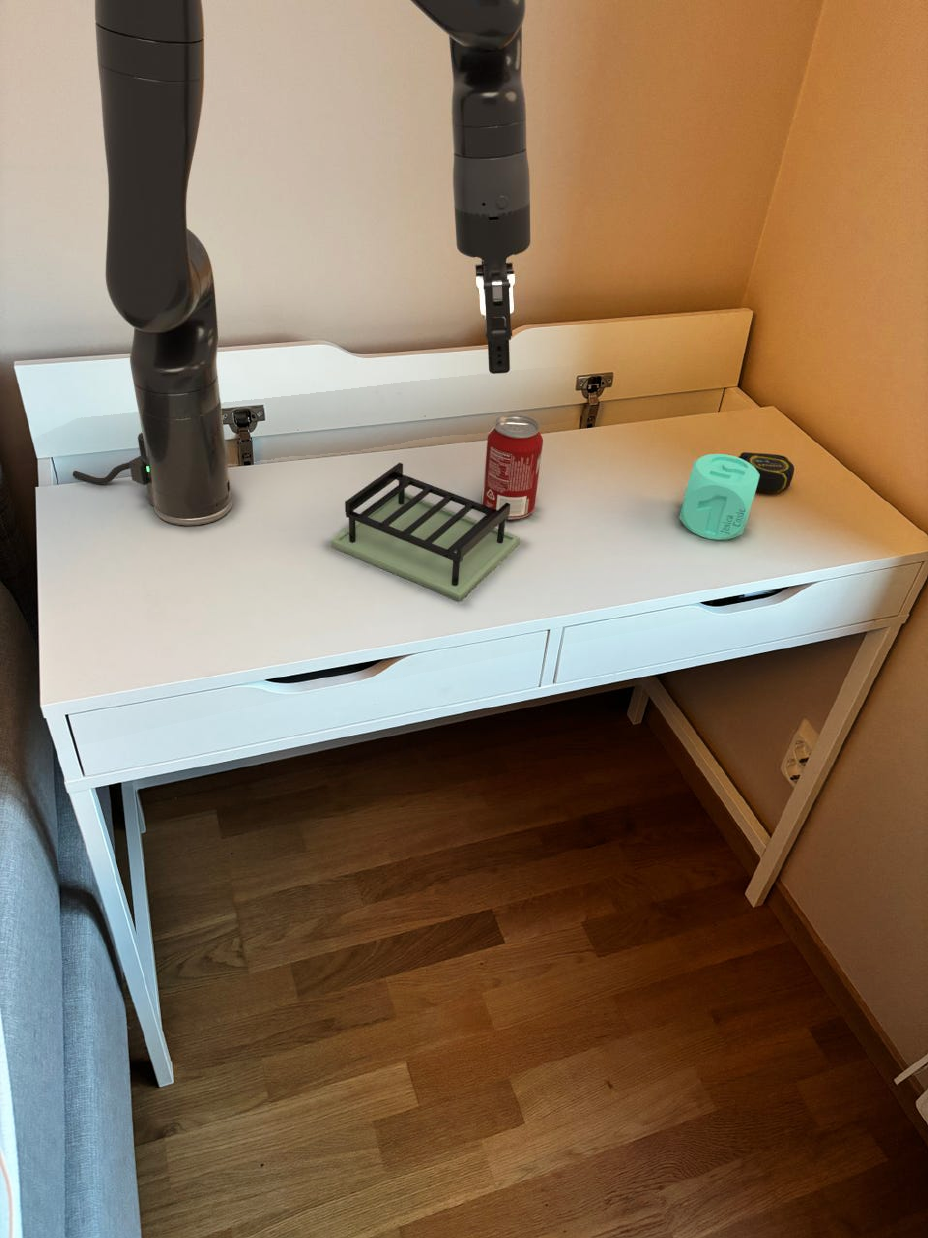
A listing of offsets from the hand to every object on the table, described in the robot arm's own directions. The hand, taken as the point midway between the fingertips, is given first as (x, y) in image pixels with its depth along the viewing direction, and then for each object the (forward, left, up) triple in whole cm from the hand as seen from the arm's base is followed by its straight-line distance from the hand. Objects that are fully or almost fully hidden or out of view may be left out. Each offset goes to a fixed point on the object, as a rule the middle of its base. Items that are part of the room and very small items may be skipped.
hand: (497, 355), depth 103 cm
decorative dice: (+24, +18, -23) cm, 37 cm away
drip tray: (-3, -8, -22) cm, 24 cm away
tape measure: (+26, +32, -23) cm, 47 cm away
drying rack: (-3, -8, -22) cm, 24 cm away
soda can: (+1, +5, -23) cm, 23 cm away
